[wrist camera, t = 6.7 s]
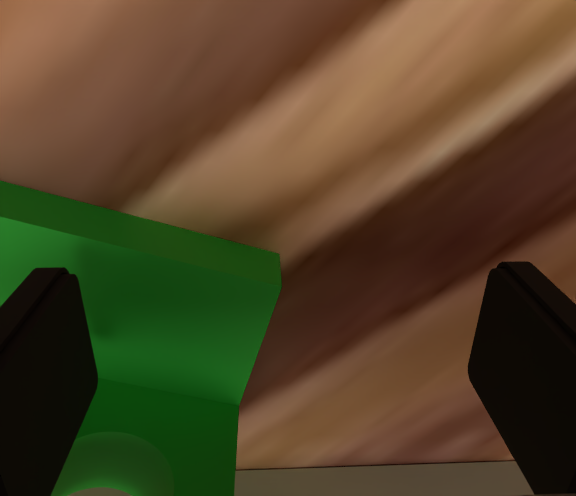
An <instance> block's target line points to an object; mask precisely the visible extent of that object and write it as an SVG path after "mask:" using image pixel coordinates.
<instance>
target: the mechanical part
mask: <svg viewBox="0 0 576 496" xmlns="http://www.w3.org/2000/svg"><path fill="white" fill-rule="evenodd" d="M54 267H65V268H66V269H67V270H68V272H69V274H75V275H76V276H77V278H78V281H79V285H80V290H81V295H82V300H83V305H84V309H85V314H86V319H87V324H88V329H89V334H90V338H91V343H92V348H93V353H94V358H95V363H96V367H97V372H98V385H97V390H96V393H95V395H94V397H93V399H92V402H91V404H90V406H89V409H88V411H87V413H86V416H85V418H84V420H83V422H82V425H81V427H80V429H79V432H78V434H77V436H76V439H75V441H74V443H73V446H72V448H71V450H70V452H69V455H68V457H67V459H66V462H65V464H64V466H63V469H62V471H61V473H60V475H59V478H58V480H57V482H56V485H55V487H54V489H53V492H52V494H51V496H68V495H70V494H72V493H74V492H77V491H80V490H84V489H89V488H97V487H106V488H113V489H118V490H121V491H124V492H126V493H128V494H130V495H132V496H234V489H235V470H236V452H237V433H238V415H239V404H240V402H241V399H242V396H243V393H244V391H245V388H246V385H247V382H248V380H249V377H250V374H251V371H252V368H253V366H254V363H255V360H256V357H257V355H258V352H259V349H260V346H261V344H262V341H263V338H264V335H265V332H266V330H267V327H268V324H269V321H270V319H271V316H272V313H273V310H274V308H275V305H276V302H277V299H278V296H279V294H280V291H281V288H282V281H281V268H280V255H279V254H278V253H274V252H271V251H267V250H263V249H259V248H255V247H252V246H248V245H244V244H240V243H236V242H232V241H229V240H225V239H221V238H217V237H213V236H210V235H206V234H202V233H198V232H194V231H190V230H187V229H183V228H179V227H175V226H171V225H168V224H164V223H160V222H156V221H152V220H148V219H145V218H141V217H137V216H133V215H129V214H126V213H122V212H118V211H114V210H110V209H107V208H103V207H99V206H95V205H91V204H87V203H84V202H80V201H76V200H72V199H68V198H65V197H61V196H57V195H53V194H49V193H45V192H42V191H38V190H34V189H30V188H26V187H23V186H19V185H15V184H11V183H7V182H3V181H0V307H1V305H2V304H3V303H4V302H5V301H6V300H7V299H8V298H9V296H10V295H11V294H12V293H13V292H14V291H15V290H16V288H17V287H18V286H19V285H20V284H21V283H22V282H23V281H24V279H25V278H26V277H27V276H28V275H29V274H30V273H31V271H32V270H33V269H35V268H54Z"/></svg>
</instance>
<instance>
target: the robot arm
mask: <svg viewBox="0 0 576 496" xmlns="http://www.w3.org/2000/svg"><path fill="white" fill-rule="evenodd" d="M468 375H469V379H470V381H471V383H472V385H473V387H474V389H475V390H476V392H477V394H478V396H479V398H480V399H481V401H482V403H483V405H484V406H485V408H486V410H487V412H488V413H489V415H490V417H491V419H492V420H493V422H494V424H495V426H496V428H497V429H498V431H499V433H500V435H501V436H502V438H503V440H504V442H505V443H506V445H507V447H508V449H509V451H510V452H511V454H512V456H513V458H514V459H515V461H516V463H517V465H518V466H519V468H520V470H521V472H522V473H523V475H524V477H525V479H526V481H527V482H528V484H529V486H530V488H531V489H532V491H533V493H534V495H511V496H576V304H575V303H574V302H572V301H571V300H570V299H569V298H568V297H567V296H566V295H565V294H564V293H563V292H562V291H561V290H560V289H558V288H557V287H556V286H555V285H554V284H553V283H552V282H551V281H550V280H549V279H548V278H547V277H546V276H545V275H543V274H542V273H541V272H540V271H539V270H538V269H537V268H536V267H535V266H534V265H533V264H532V263H530V262H501V263H499V264H498V266H497V268H493V269H491V271H490V272H489V275H488V279H487V283H486V288H485V292H484V297H483V301H482V305H481V310H480V314H479V319H478V323H477V328H476V332H475V336H474V341H473V345H472V350H471V354H470V359H469V363H468ZM97 385H98V372H97V367H96V363H95V358H94V353H93V348H92V343H91V338H90V334H89V329H88V324H87V319H86V314H85V309H84V305H83V300H82V295H81V290H80V285H79V281H78V278H77V276H76V275H75V274H69V272H68V270H67V269H66V268H65V267H54V268H35V269H33V270H32V271H31V273H30V274H29V275H28V276H27V277H26V278H25V279H24V281H23V282H22V283H21V284H20V285H19V286H18V287H17V288H16V290H15V291H14V292H13V293H12V294H11V295H10V296H9V298H8V299H7V300H6V301H5V302H4V303H3V304H2V305H1V307H0V496H51V494H52V492H53V489H54V487H55V485H56V482H57V480H58V478H59V475H60V473H61V471H62V469H63V466H64V464H65V462H66V459H67V457H68V455H69V452H70V450H71V448H72V446H73V443H74V441H75V439H76V436H77V434H78V432H79V429H80V427H81V425H82V422H83V420H84V418H85V416H86V413H87V411H88V409H89V406H90V404H91V402H92V399H93V397H94V395H95V393H96V390H97Z"/></svg>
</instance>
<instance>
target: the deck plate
mask: <svg viewBox="0 0 576 496" xmlns="http://www.w3.org/2000/svg"><path fill="white" fill-rule="evenodd" d="M511 495H534V493H533V491H532V489H531V488H530V486H529V484H528V482H527V481H526V479H525V477H524V475H523V473H522V472H521V470H520V468H519V466H518V465H517V463H516V461H504V462H475V463H446V464H417V465H387V466H358V467H329V468H300V469H271V470H242V471H235V489H234V496H511ZM68 496H132V495H130V494H128V493H126V492H124V491H121V490H118V489H113V488H106V487H97V488H89V489H84V490H80V491H77V492H74V493H72V494H70V495H68Z"/></svg>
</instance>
